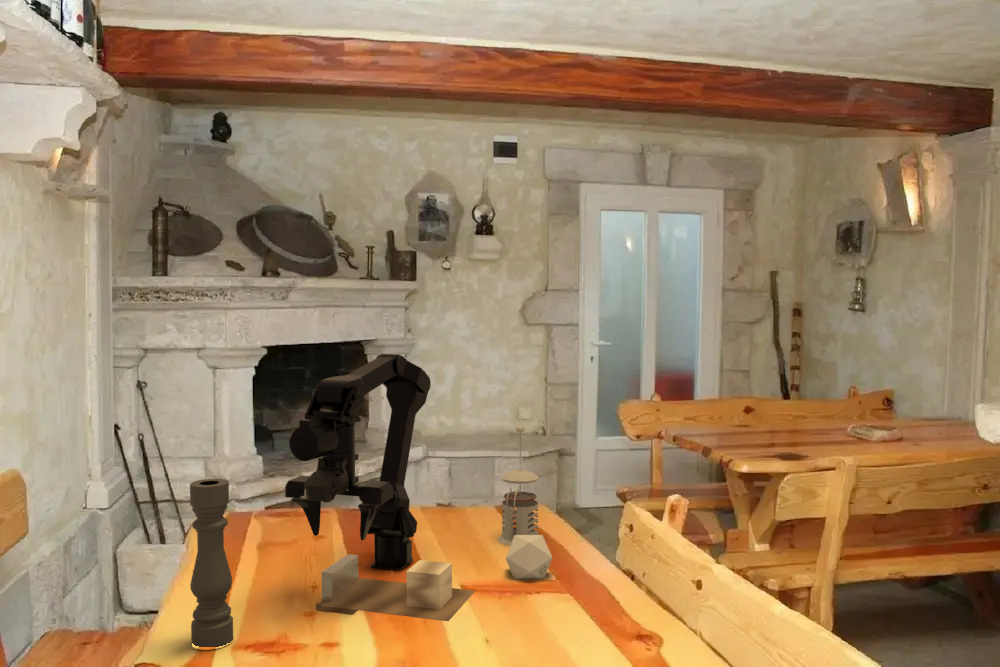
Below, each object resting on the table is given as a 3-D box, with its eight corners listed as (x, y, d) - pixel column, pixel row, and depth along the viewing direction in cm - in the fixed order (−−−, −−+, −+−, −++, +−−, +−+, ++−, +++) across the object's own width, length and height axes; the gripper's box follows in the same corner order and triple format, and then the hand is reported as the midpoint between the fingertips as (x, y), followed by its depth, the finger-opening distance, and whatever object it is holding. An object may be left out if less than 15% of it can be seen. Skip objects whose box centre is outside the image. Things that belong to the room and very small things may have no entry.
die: (537, 594, 151) (564, 546, 153) (494, 568, 152) (522, 520, 155) (534, 594, 159) (560, 548, 162) (494, 569, 160) (521, 524, 163)
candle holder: (197, 634, 132) (194, 478, 131) (237, 632, 133) (234, 477, 131) (186, 651, 126) (182, 488, 124) (228, 649, 126) (225, 487, 125)
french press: (547, 535, 184) (548, 423, 183) (532, 551, 173) (533, 432, 172) (505, 531, 187) (505, 421, 186) (488, 546, 176) (488, 429, 175)
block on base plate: (316, 609, 142) (315, 575, 142) (353, 581, 155) (353, 550, 155) (448, 625, 135) (448, 590, 135) (475, 595, 148) (475, 563, 148)
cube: (406, 605, 141) (406, 571, 141) (420, 593, 147) (419, 559, 147) (439, 609, 140) (439, 574, 139) (452, 596, 145) (451, 563, 145)
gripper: (266, 456, 142) (268, 546, 143) (366, 462, 136) (367, 556, 137) (300, 444, 152) (301, 528, 153) (394, 450, 147) (394, 537, 148)
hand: (339, 537), depth 148 cm, fingers open, 9 cm apart
